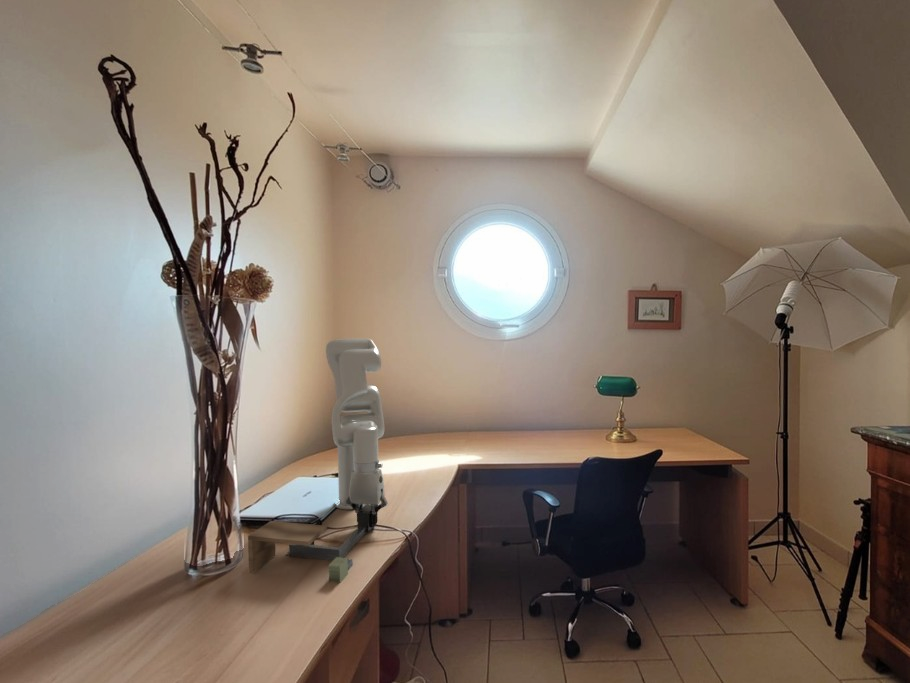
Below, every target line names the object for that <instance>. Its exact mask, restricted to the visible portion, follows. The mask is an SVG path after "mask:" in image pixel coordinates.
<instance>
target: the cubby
mask: <svg viewBox="0 0 910 683" xmlns="http://www.w3.org/2000/svg"><path fill="white" fill-rule="evenodd" d="M327 530H328V525H320V524H309V523H298V522H289V521H277V520H270V521H269V522H267V523H265V524H264V525H262V526H261V527H259V528H258V529H256V530H255V531H253V532H251V533H250V534H248V535H247V546H248V548H247V549H248V550H247V551H248V574H255V573H256V572H257V571H258V570H259V569H261V568H262V567H264V566H265V565H266V564H267V563H268V562H270V561H271V560H273V559H274V557H276V544H278V543H279V544H287V545H289V544H295V545H305V546H309V545H310V544H311V543H312V542H314V543H315V542H316V540H317V539H318V538H319V537H321V536H322V535H324V533H325V532H326V531H327Z"/></svg>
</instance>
